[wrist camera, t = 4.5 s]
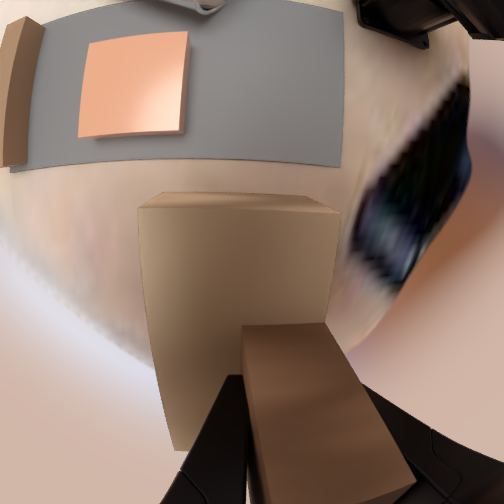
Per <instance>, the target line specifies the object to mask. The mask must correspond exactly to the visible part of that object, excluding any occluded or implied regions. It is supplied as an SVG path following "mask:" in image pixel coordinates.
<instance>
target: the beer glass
mask: <svg viewBox="0 0 504 504" xmlns="http://www.w3.org/2000/svg"><path fill="white" fill-rule="evenodd" d="M160 1H163V2H166V3H170V4H173V5H176V6H180V7H183V8H187V9H190V10H193V11H196V12H198V13H200V14H203V15H207V14H211V13H213V12H215V11H217V10H219V9H220V8H222V7H223V6H224V5H225V4H227V3H228V2H229V1H230V0H160Z"/></svg>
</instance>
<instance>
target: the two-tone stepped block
mask: <svg viewBox="0 0 504 504" xmlns="http://www.w3.org/2000/svg"><path fill="white" fill-rule="evenodd" d="M340 223H341V213H339V212H337V211H335V210H333V209H331V208H329V207H327V206H325V205H323V204H321V203H318V202H316V201H314V200H312V199H310V198H308V197H306V196H294V195H276V194H254V193H222V192H162V193H161V194H159V195H158V196H156V197H154V198H153V199H151V200H150V201H148V202H147V203H145V204H143V205H142V206H140V207H139V208H138V231H139V248H140V261H141V273H142V283H143V293H144V301H145V309H146V317H147V324H148V331H149V337H150V343H151V349H152V355H153V361H154V366H155V371H156V376H157V381H158V386H159V391H160V396H161V400H162V404H163V409H164V413H165V417H166V421H167V425H168V429H169V432H170V436H171V440H172V443H173V447H174V450H175V451H190V449H191V447H192V445H193V443H194V441H195V439H196V437H197V435H198V433H199V431H200V429H201V427H202V425H203V423H204V421H205V419H206V417H207V415H208V413H209V411H210V409H211V407H212V405H213V403H214V401H215V399H216V397H217V395H218V393H219V391H220V389H221V387H222V385H223V383H224V381H225V379H226V377H227V375H229V374H242V375H243V379H244V385H245V391H246V396H247V402H248V407H249V438H248V463H247V482H248V489H249V497H250V503H251V504H393V503H394V502H395V501H396V500H397V499H398V498H399V497H400V496H402V495H403V494H404V493H405V492H406V491H407V490H408V489H409V488H410V487H411V486H412V485H413V484H414V483H415V482H416V479H415V477H414V475H413V473H412V472H411V470H410V468H409V466H408V464H407V462H406V461H405V459H404V457H403V455H402V453H401V452H400V450H399V448H398V446H397V444H396V443H395V441H394V439H393V437H392V436H391V434H390V432H389V430H388V429H387V427H386V425H385V423H384V422H383V420H382V418H381V416H380V415H379V413H378V411H377V409H376V408H375V406H374V404H373V402H372V401H371V399H370V397H369V396H368V394H367V392H366V390H365V389H364V387H363V385H362V384H361V382H360V381H359V379H358V377H357V375H356V374H355V372H354V370H353V369H352V367H351V365H350V363H349V362H348V360H347V358H346V357H345V355H344V353H343V352H342V350H341V348H340V347H339V345H338V344H337V342H336V340H335V339H334V337H333V335H332V334H331V332H330V330H329V329H328V327H327V325H326V324H325V318H326V312H327V307H328V302H329V296H330V291H331V285H332V279H333V273H334V266H335V260H336V253H337V246H338V238H339V231H340Z"/></svg>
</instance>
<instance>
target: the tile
mask: <svg viewBox="0 0 504 504" xmlns="http://www.w3.org/2000/svg"><path fill="white" fill-rule="evenodd" d="M191 48H192V46H191V42H190V38H189V34H188V31H181V32H164V33H153V34H144V35H135V36H128V37H122V38H116V39H110V40H105V41H99V42H95V43H90V44H89V48H88V53H87V59H86V64H85V71H84V77H83V85H82V93H81V102H80V113H79V127H78V138H86V139H104V138H114V137H127V136H143V135H167V134H184V133H185V116H186V101H187V88H188V77H189V67H190V57H191Z"/></svg>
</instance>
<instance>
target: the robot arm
mask: <svg viewBox="0 0 504 504" xmlns="http://www.w3.org/2000/svg"><path fill="white" fill-rule="evenodd" d="M355 1H356V3H357V13H358V22H359V23H360V25H362V26H363V27H366V28H369V29H372V30H375V31H378V32H381V33H383V34H386V35H389V36H392V37H394V38H397V39H399V40H402V41H404V42H407V43H409V44H411V45H414V46H416V47H418V48H420V49H423V50H425V49H428V48H429V40H428V33H429V32H431V31H433V30H436V29H438V28H440V27H443V26H445V25H448V24H450V23H453V22H456V21H459V22H460V23H461V24H462V26H463V27H464V28H465V29H466V30H467V31H468V34H469V35H470V36H471V37H472V39H483V40H502V41H504V0H355ZM363 19H364V20H366V21H367V23H366V22H365V21H364V20H363ZM423 44H424V45H423ZM361 384H362V383H361ZM362 385H363V387H364V389H365V390H366V392H367V394H368V396H369V397H370V399H371V401H372V402H373V404H374V406H375V408H376V409H377V411H378V413H379V415H380V416H381V418H382V420H383V422H384V423H385V425H386V427H387V429H388V430H389V432H390V434H391V436H392V437H393V439H394V441H395V443H396V444H397V446H398V448H399V450H400V452H401V453H402V455H403V457H404V459H405V461H406V462H407V464H408V466H409V468H410V470H411V472H412V473H413V475H414V477H415V479H416V482H415V483H414V484H413V485H412V486H411V487H410V488H409V489H408V490H407V491H406V492H405V493H404V494H403V495H402V496H400V497H399V498H398V499H397V500H396V501H395V502H394V503H393V504H504V462H500V461H498V460H496V459H493V458H490V457H488V456H486V455H483V454H481V453H479V452H476V451H474V450H472V449H469V448H467V447H465V446H463V445H461V444H459V443H457V442H455V441H453V440H451V439H449V438H448V437H446V436H444V435H442V434H441V433H439V432H437V431H436V430H434V429H431V428H430V427H429V426H427V425H426V424H424V423H423V422H421V421H419V420H418V419H416V418H415V417H413V416H411V415H409V414H408V413H407V412H405V411H403V410H402V409H400V408H399V407H397V406H396V405H394V404H393V403H391V402H389V401H388V400H386V399H385V398H383V397H382V396H380V395H379V394H377V393H376V392H374V391H373V390H371V389H370V388H368V387H367V386H365V385H364V384H362ZM248 438H249V407H248V402H247V396H246V391H245V385H244V379H243V375H242V374H229V375H227V377H226V379H225V381H224V383H223V385H222V387H221V389H220V391H219V393H218V395H217V397H216V399H215V401H214V403H213V405H212V407H211V409H210V411H209V413H208V415H207V417H206V419H205V421H204V423H203V425H202V427H201V429H200V431H199V433H198V435H197V437H196V439H195V441H194V443H193V445H192V447H191V449H190V451H189V453H188V455H187V457H186V458H185V460H184V462H183V464H182V466H181V468H180V470H181V471H179V472H178V473H177V475H176V477H175V479H174V481H173V483H172V484H171V486H170V488H169V489H168V491H167V493H166V494H165V496H164V498H163V499H162V501H161V502H160V504H246V487H247V486H246V485H247V463H248Z"/></svg>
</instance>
